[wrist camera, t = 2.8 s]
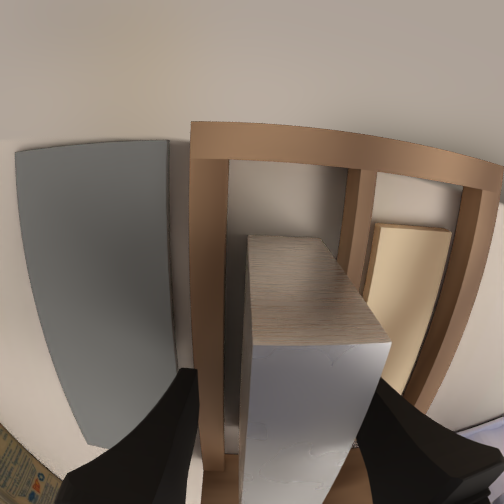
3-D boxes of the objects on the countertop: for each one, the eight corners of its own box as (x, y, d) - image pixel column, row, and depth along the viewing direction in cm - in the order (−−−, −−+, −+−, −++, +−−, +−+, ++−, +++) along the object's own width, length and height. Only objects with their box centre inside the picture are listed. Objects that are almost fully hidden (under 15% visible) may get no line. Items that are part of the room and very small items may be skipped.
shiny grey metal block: (319, 237, 12) (392, 342, 6) (288, 425, 16) (304, 533, 10) (247, 234, 12) (253, 345, 6) (238, 425, 16) (239, 535, 9)
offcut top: (443, 227, 12) (452, 232, 12) (378, 429, 17) (381, 436, 16) (374, 222, 12) (381, 227, 12) (324, 435, 17) (326, 444, 16)
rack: (484, 162, 11) (584, 188, 6) (388, 451, 18) (412, 517, 12) (197, 123, 11) (150, 108, 5) (206, 462, 17) (200, 540, 12)
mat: (169, 139, 11) (167, 140, 11) (189, 456, 17) (189, 461, 17) (20, 151, 11) (15, 152, 10) (89, 440, 17) (87, 444, 16)
